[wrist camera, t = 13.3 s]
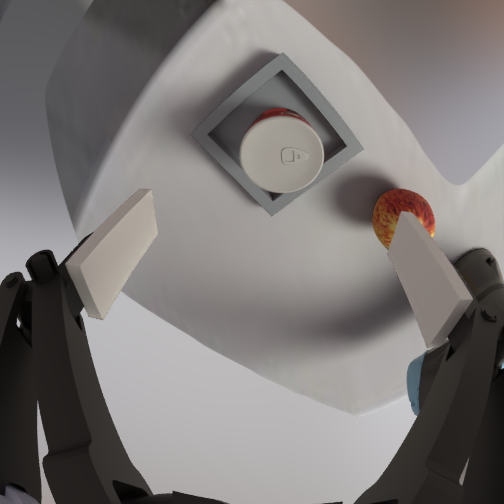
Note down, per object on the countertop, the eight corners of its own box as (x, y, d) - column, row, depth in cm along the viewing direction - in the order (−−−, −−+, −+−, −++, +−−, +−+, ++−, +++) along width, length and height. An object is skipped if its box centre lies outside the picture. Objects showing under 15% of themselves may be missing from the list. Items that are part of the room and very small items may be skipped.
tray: (357, 144, 33) (364, 149, 30) (272, 207, 40) (271, 216, 37) (282, 55, 27) (283, 52, 25) (196, 130, 34) (189, 134, 31)
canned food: (318, 154, 34) (333, 182, 25) (261, 169, 36) (254, 203, 27) (301, 100, 30) (311, 106, 21) (241, 117, 32) (226, 131, 23)
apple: (423, 185, 35) (455, 216, 26) (405, 234, 40) (428, 272, 32) (373, 172, 35) (399, 201, 27) (357, 226, 40) (375, 265, 32)
